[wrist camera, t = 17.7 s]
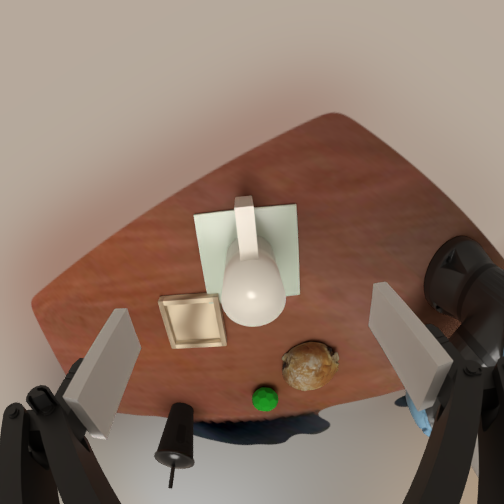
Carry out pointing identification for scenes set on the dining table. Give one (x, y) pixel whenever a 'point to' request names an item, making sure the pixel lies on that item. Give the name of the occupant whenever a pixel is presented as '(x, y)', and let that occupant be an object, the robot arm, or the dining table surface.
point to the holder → (193, 320)
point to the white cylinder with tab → (251, 273)
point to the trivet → (267, 226)
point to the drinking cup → (177, 440)
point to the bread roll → (309, 366)
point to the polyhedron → (265, 399)
